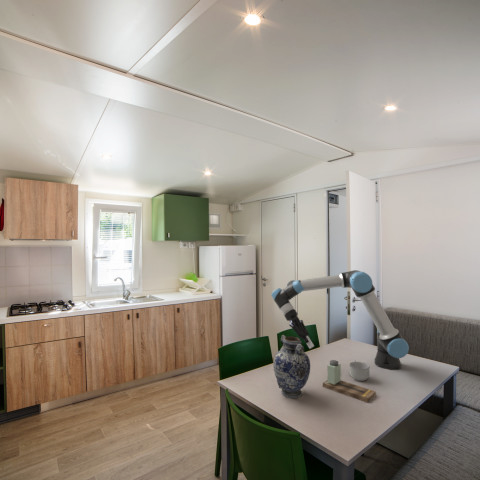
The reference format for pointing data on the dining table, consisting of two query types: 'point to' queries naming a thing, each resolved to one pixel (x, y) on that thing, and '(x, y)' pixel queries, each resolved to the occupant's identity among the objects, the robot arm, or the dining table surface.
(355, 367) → the teacup
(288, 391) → the decorative vase
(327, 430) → the dining table surface
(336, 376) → the fader tab
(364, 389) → the fader track
